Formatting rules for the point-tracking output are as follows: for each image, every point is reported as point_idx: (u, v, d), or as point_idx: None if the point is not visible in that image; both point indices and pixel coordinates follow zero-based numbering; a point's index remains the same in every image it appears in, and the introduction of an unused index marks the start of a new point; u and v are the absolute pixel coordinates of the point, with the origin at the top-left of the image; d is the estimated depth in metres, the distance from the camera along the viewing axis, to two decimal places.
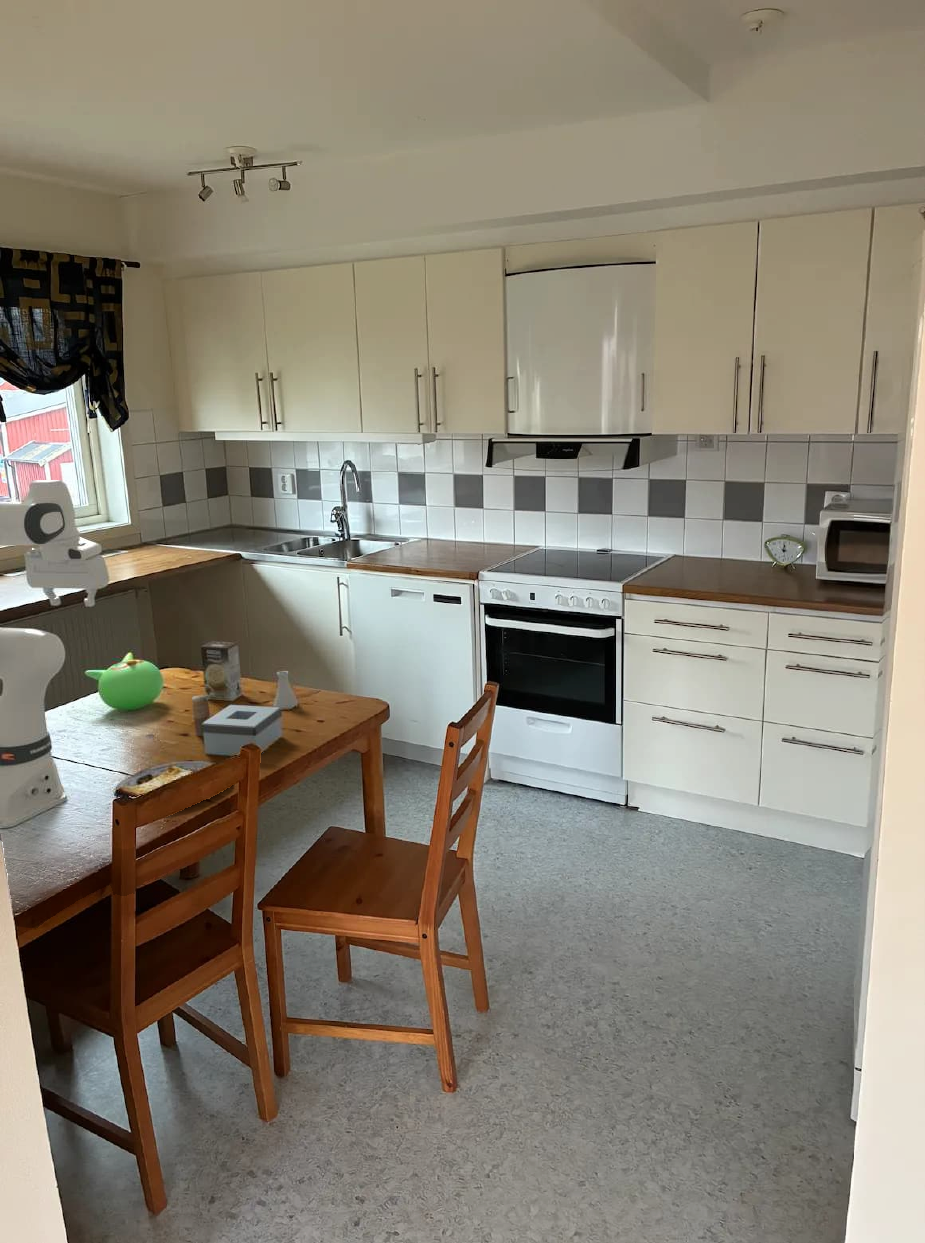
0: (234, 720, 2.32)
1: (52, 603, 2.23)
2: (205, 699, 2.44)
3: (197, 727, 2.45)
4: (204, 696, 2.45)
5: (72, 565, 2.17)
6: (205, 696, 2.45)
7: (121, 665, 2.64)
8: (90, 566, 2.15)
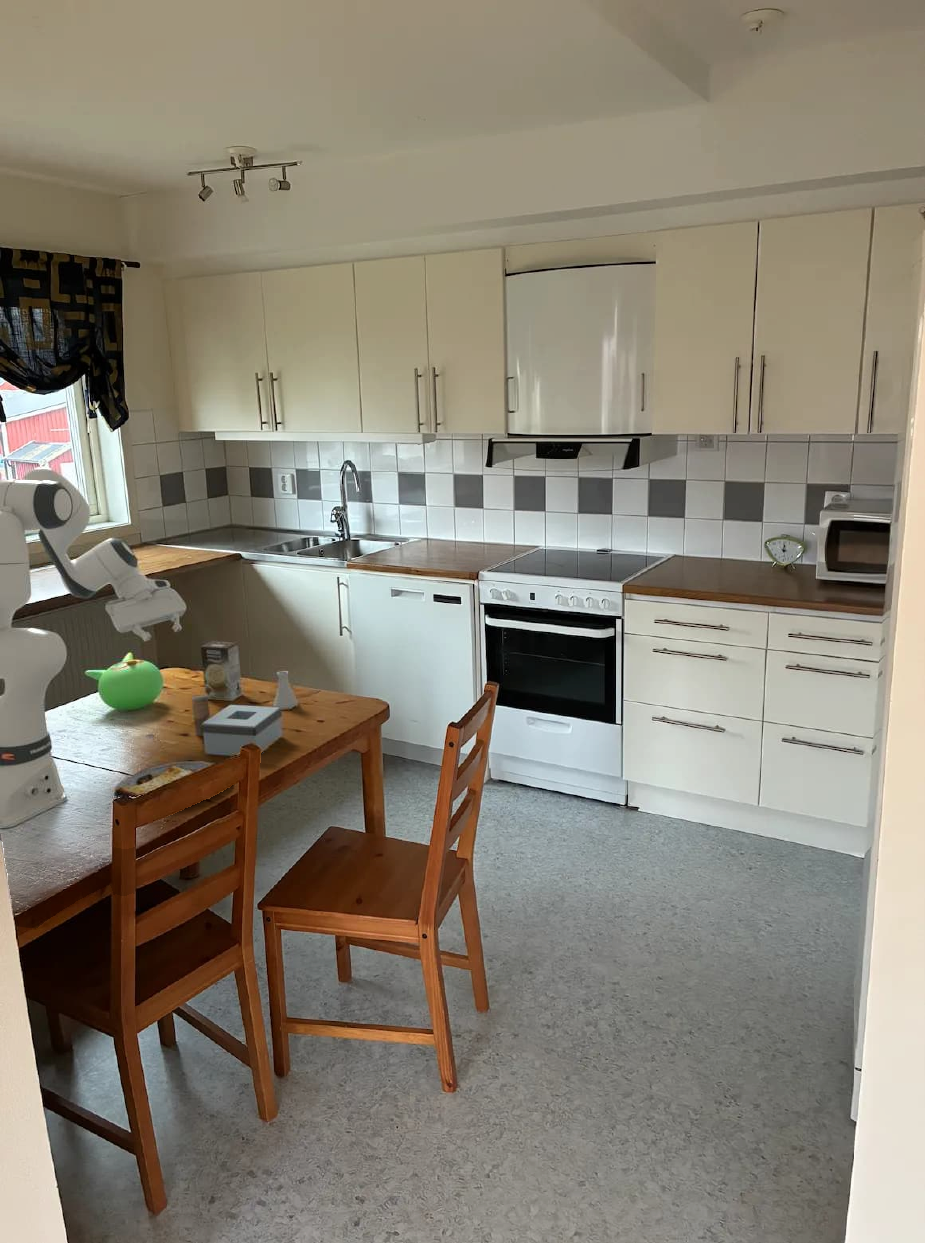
0: (234, 720, 2.32)
1: (147, 635, 2.44)
2: (205, 699, 2.44)
3: (197, 727, 2.45)
4: (204, 696, 2.45)
5: (157, 597, 2.52)
6: (205, 696, 2.45)
7: (121, 665, 2.64)
8: (174, 591, 2.56)
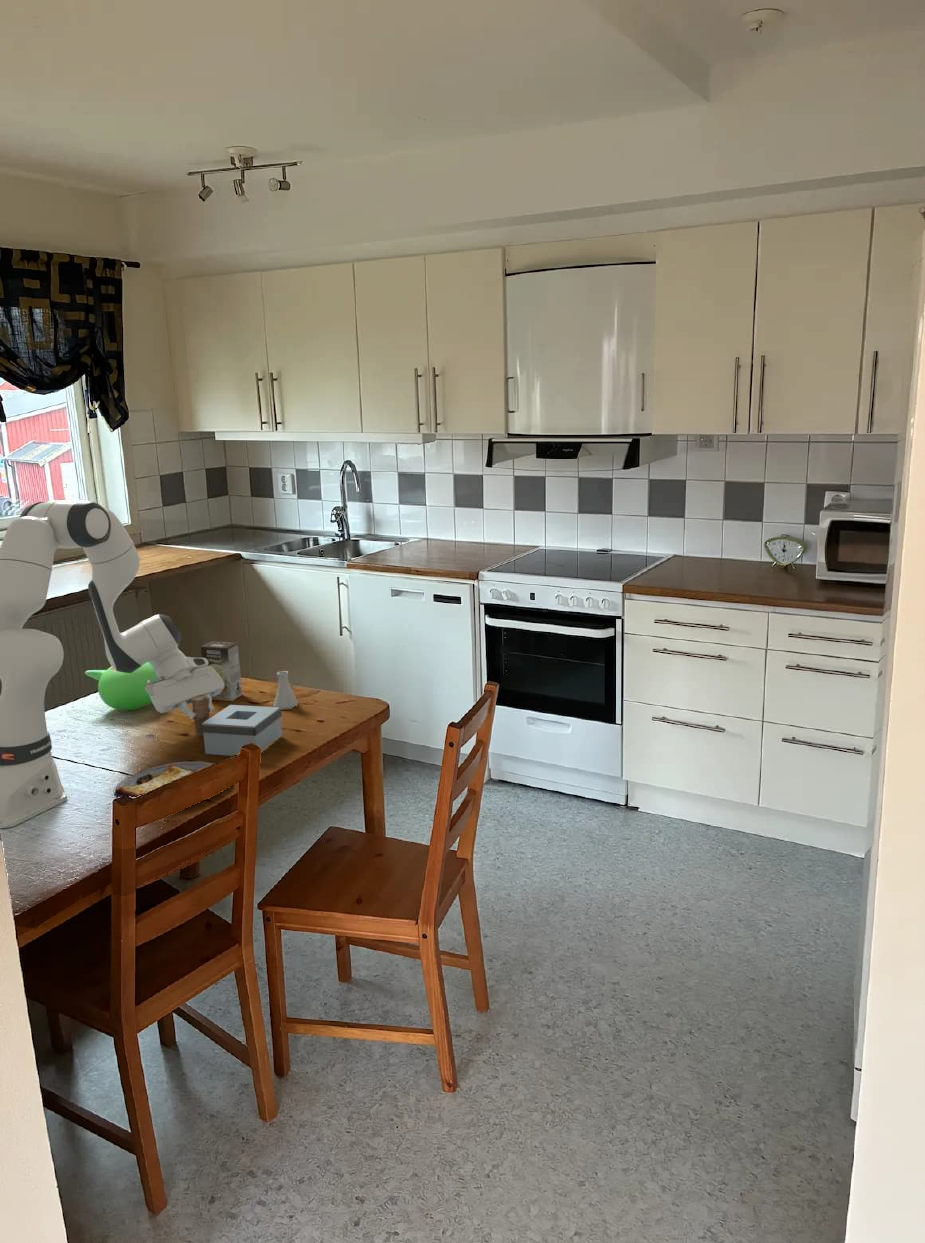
0: (234, 720, 2.32)
1: (194, 713, 2.43)
2: (205, 699, 2.44)
3: (197, 727, 2.45)
4: (204, 696, 2.45)
5: (196, 675, 2.50)
6: (205, 696, 2.45)
7: None
8: (212, 669, 2.53)
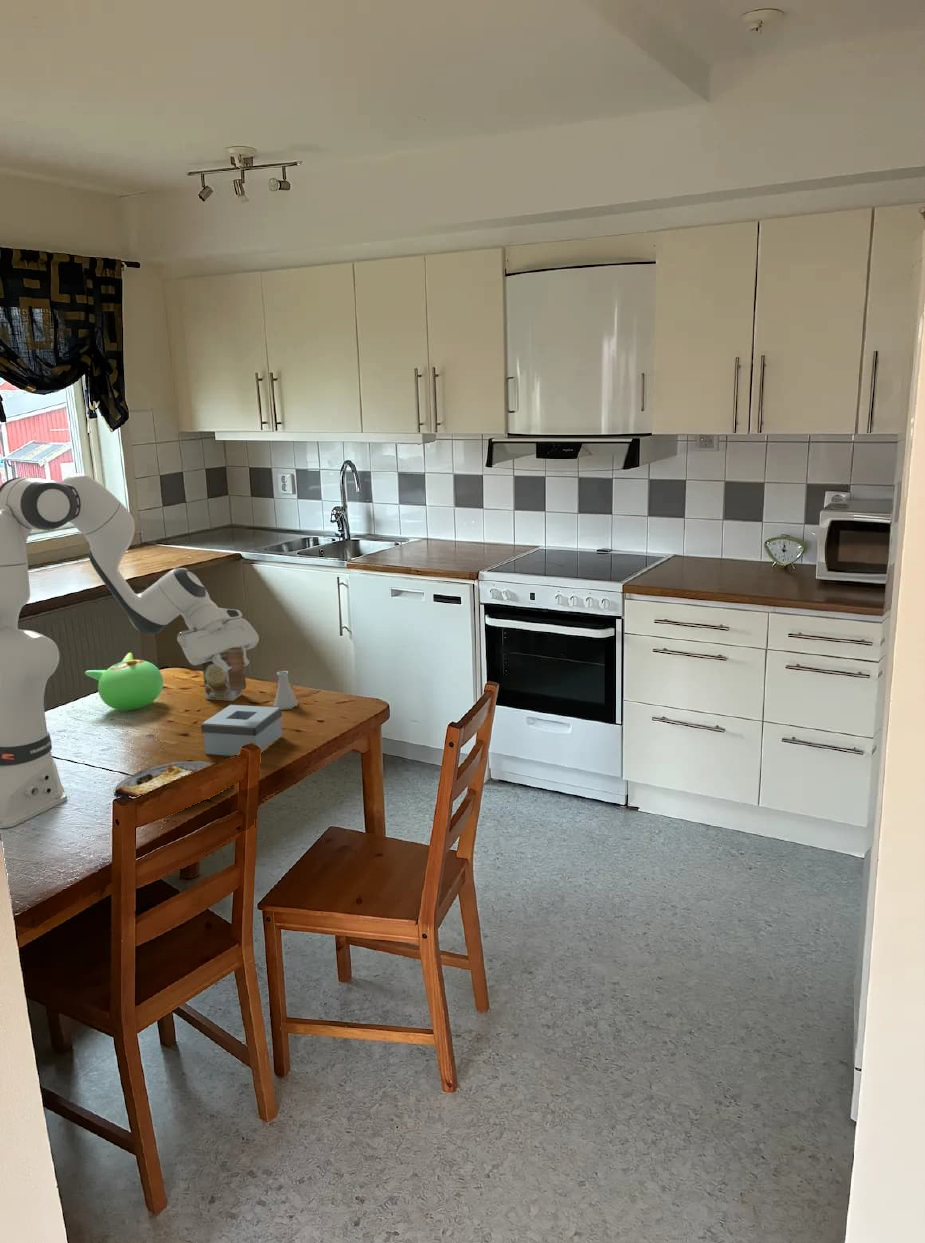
0: (234, 720, 2.32)
1: (228, 666, 2.30)
2: (240, 651, 2.31)
3: (231, 681, 2.32)
4: (238, 648, 2.32)
5: (229, 627, 2.37)
6: (240, 648, 2.32)
7: (121, 665, 2.64)
8: (246, 622, 2.40)
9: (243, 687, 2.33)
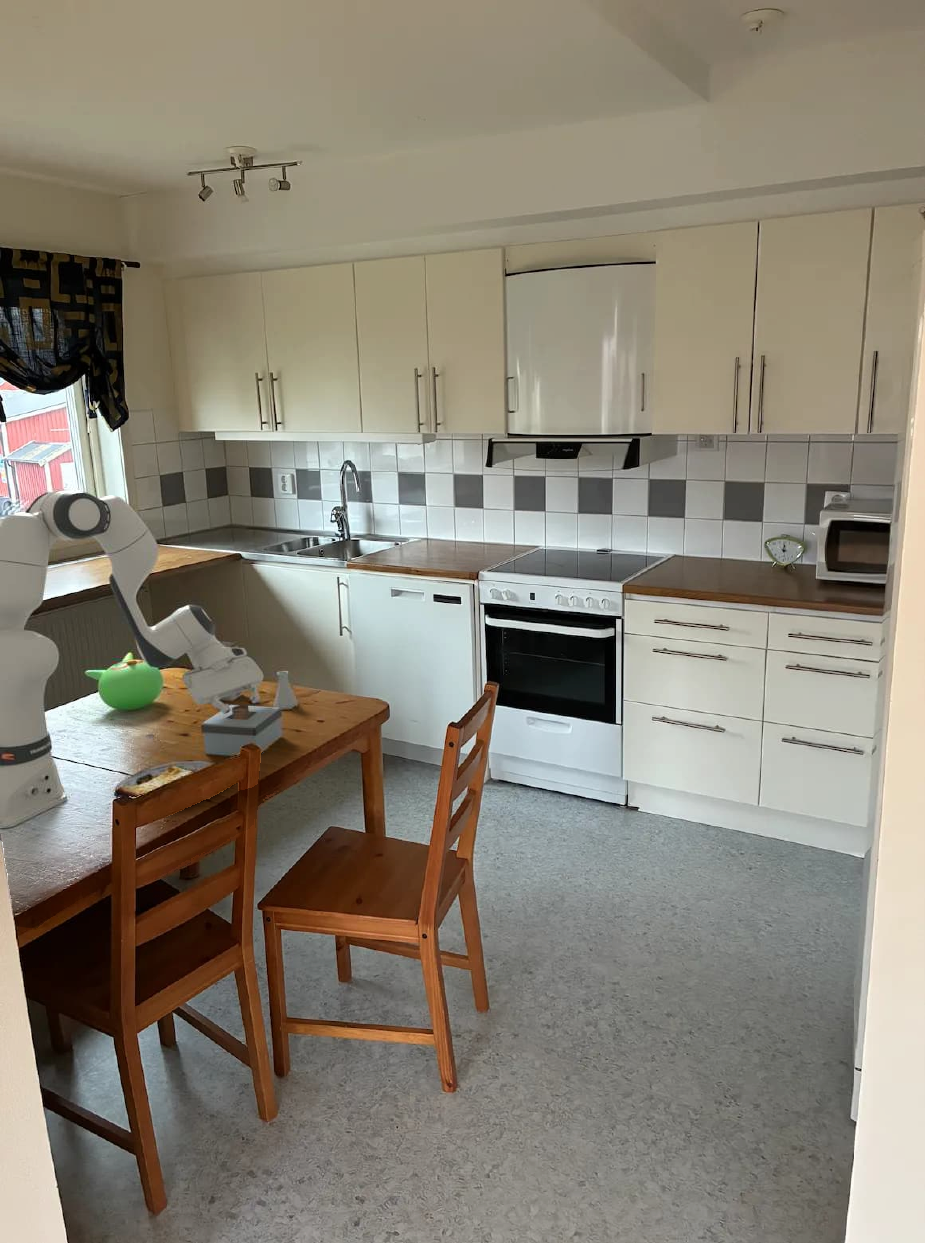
0: (234, 720, 2.32)
1: (226, 708, 2.30)
2: (246, 710, 2.34)
3: None
4: (244, 707, 2.35)
5: (234, 666, 2.39)
6: (246, 706, 2.35)
7: (121, 665, 2.64)
8: (251, 660, 2.42)
9: None
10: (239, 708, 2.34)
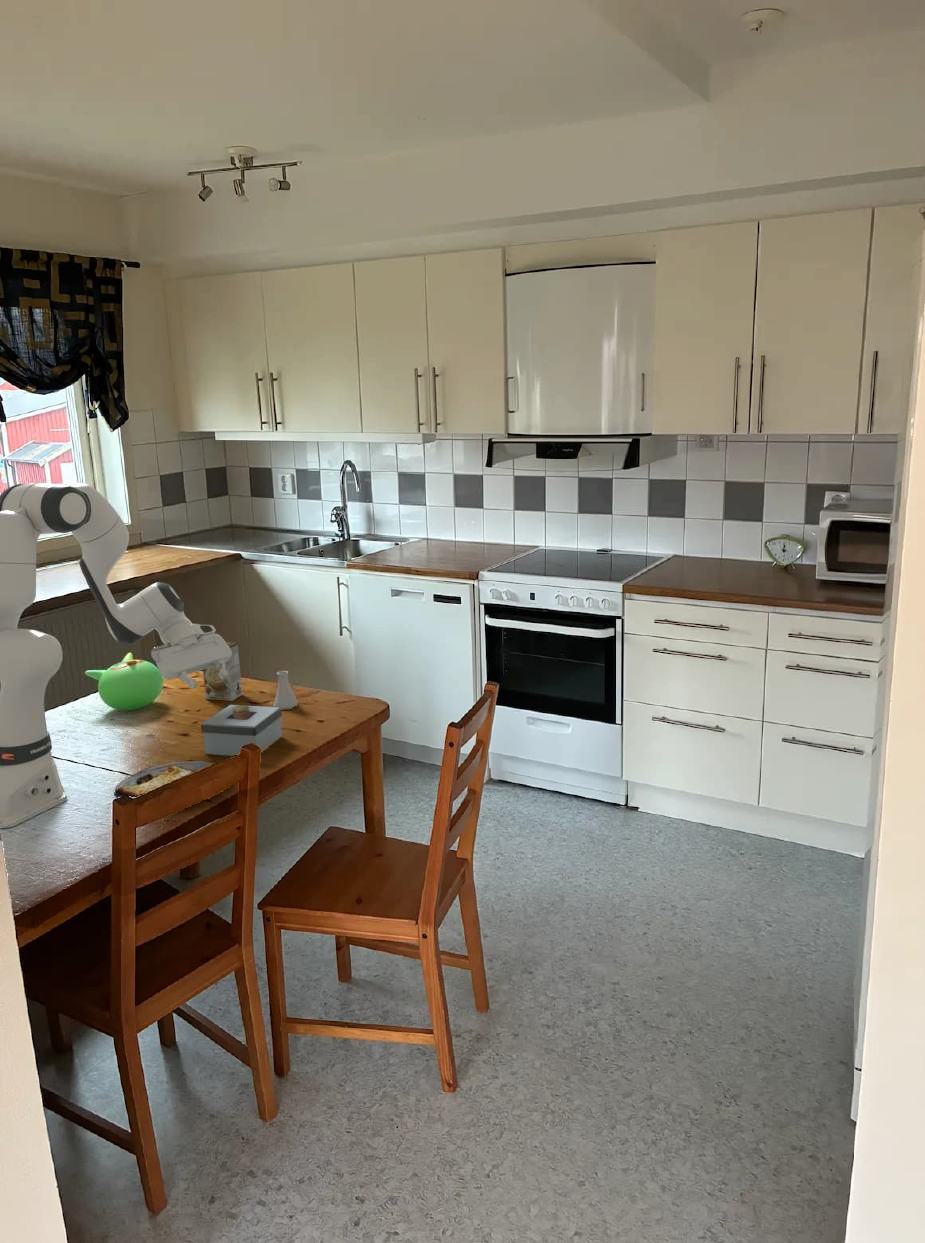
0: (234, 720, 2.32)
1: (194, 682, 2.36)
2: (246, 710, 2.34)
3: None
4: (245, 707, 2.35)
5: (203, 642, 2.45)
6: (246, 707, 2.35)
7: (121, 665, 2.64)
8: (220, 637, 2.48)
9: None
10: (239, 708, 2.34)
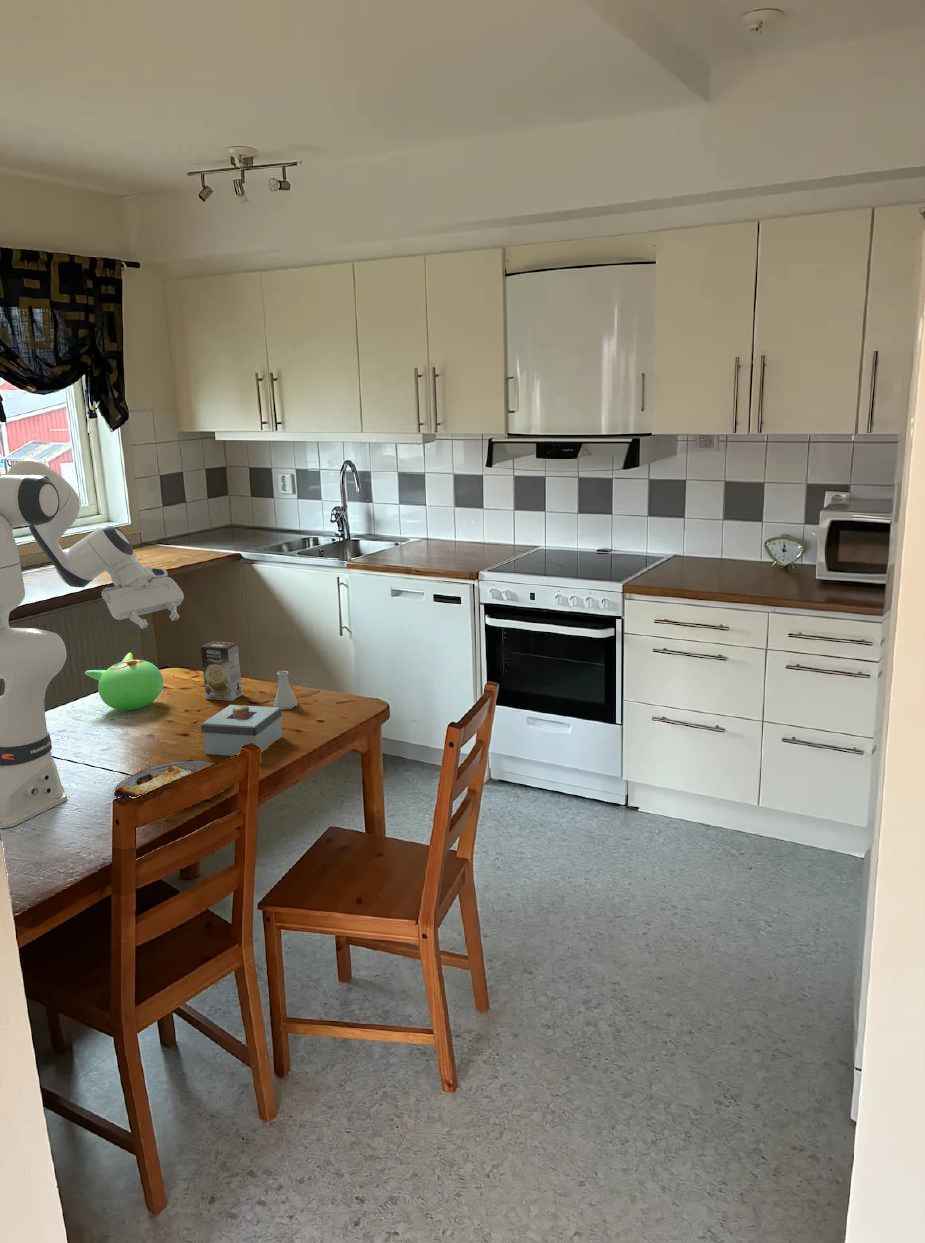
0: (234, 720, 2.32)
1: (144, 623, 2.39)
2: (246, 710, 2.34)
3: None
4: (245, 707, 2.35)
5: (154, 585, 2.47)
6: (246, 707, 2.35)
7: (121, 665, 2.64)
8: (172, 580, 2.51)
9: None
10: (239, 708, 2.34)
